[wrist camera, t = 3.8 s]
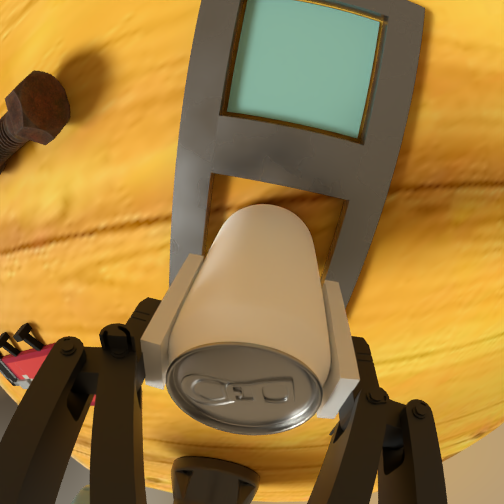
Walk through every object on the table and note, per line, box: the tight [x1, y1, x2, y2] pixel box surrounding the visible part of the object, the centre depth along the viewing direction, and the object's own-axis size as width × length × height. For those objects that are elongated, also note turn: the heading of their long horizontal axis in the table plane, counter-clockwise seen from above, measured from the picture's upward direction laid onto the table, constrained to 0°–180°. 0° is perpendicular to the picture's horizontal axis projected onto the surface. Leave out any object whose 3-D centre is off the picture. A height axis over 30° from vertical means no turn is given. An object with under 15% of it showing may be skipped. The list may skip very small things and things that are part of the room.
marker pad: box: [227, 0, 380, 138], centre depth 15 cm, size 8×8×1 cm
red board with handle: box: [0, 323, 96, 406], centre depth 34 cm, size 30×3×15 cm
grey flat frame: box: [169, 0, 425, 309], centre depth 17 cm, size 24×13×1 cm, turn 171°
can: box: [166, 204, 330, 435], centre depth 15 cm, size 6×6×12 cm
